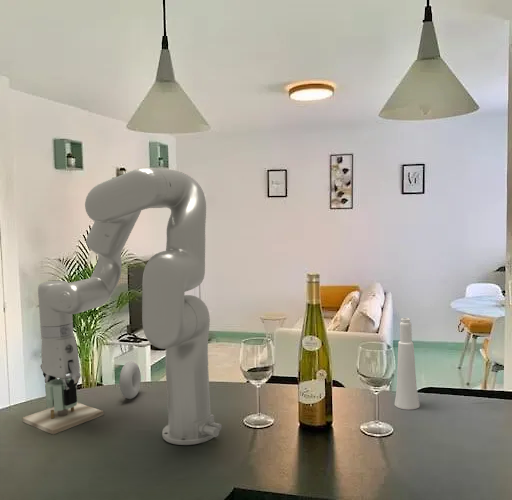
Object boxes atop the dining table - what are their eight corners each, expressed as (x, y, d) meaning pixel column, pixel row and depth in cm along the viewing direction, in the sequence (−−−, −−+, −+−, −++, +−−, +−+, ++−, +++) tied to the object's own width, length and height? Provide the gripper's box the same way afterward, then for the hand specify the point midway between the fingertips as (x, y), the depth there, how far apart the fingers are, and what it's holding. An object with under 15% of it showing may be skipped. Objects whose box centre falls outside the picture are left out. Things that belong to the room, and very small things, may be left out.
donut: (131, 391, 152) (129, 357, 151) (143, 391, 152) (141, 357, 151) (118, 404, 142) (116, 367, 141) (130, 404, 142) (128, 367, 141)
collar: (82, 403, 134) (81, 380, 134) (57, 412, 129) (55, 388, 128) (66, 398, 138) (65, 375, 138) (41, 407, 133) (40, 383, 132)
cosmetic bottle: (424, 405, 133) (422, 318, 131) (411, 412, 129) (409, 322, 127) (403, 399, 137) (401, 315, 136) (389, 405, 133) (387, 319, 132)
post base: (103, 414, 135) (102, 391, 134) (52, 434, 124) (51, 409, 124) (71, 404, 144) (70, 382, 143) (22, 421, 133) (20, 398, 132)
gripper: (90, 331, 130) (95, 403, 131) (51, 324, 140) (56, 390, 142) (63, 338, 124) (68, 412, 125) (24, 330, 135) (29, 398, 136)
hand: (61, 400), depth 133 cm, fingers closed on collar, 7 cm apart
